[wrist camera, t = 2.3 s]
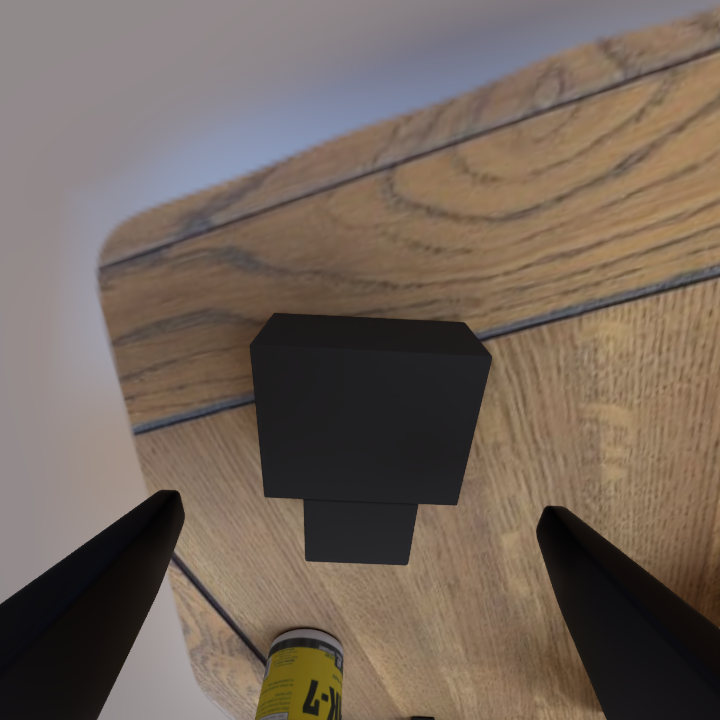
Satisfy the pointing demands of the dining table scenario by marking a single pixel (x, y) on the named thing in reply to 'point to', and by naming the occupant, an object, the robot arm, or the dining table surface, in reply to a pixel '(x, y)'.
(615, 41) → the dining table surface
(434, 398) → the pad piece
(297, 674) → the supplement bottle
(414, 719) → the base pad
